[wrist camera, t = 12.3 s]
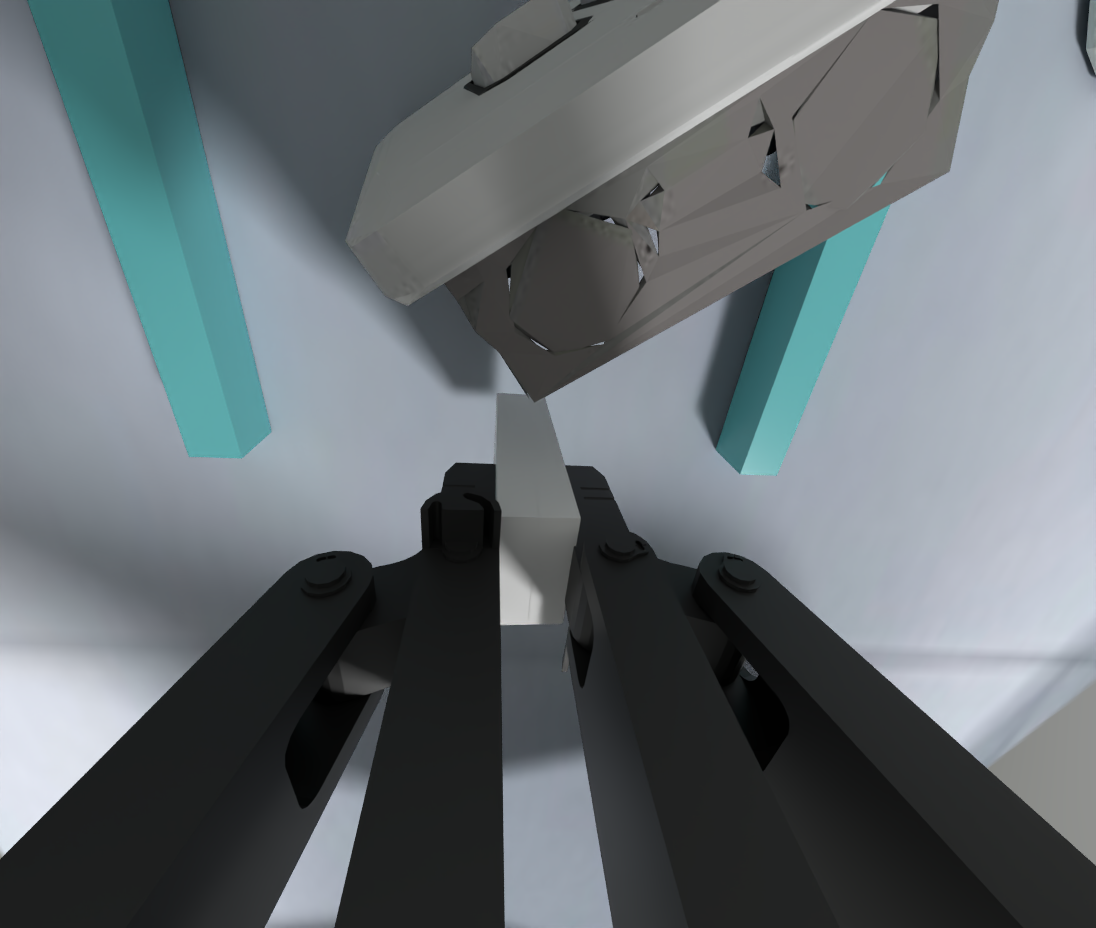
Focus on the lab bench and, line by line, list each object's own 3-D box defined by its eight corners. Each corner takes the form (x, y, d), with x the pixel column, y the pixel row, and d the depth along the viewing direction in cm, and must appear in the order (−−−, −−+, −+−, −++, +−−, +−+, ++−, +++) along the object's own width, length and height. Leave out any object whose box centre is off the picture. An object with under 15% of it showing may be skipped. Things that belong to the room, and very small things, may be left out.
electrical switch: (694, -80, 10) (1400, -899, 2) (738, 157, 13) (1122, 126, 5) (376, 145, 11) (190, 77, 4) (480, 314, 14) (492, 465, 7)
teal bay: (1092, -478, 8) (1259, -676, 6) (748, 451, 18) (776, 475, 16) (-218, -1061, 5) (-584, -1725, 3) (225, 429, 15) (188, 456, 13)
